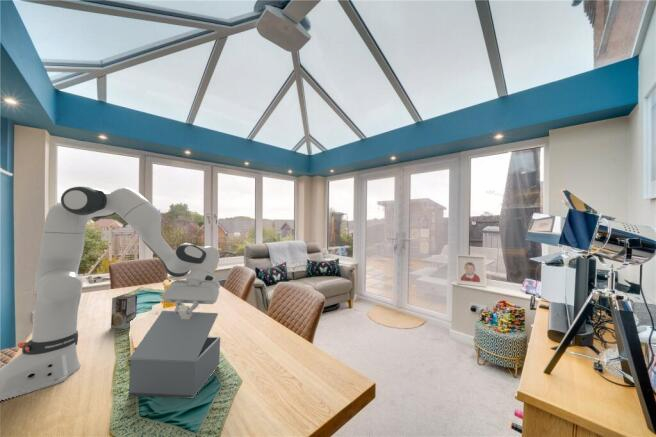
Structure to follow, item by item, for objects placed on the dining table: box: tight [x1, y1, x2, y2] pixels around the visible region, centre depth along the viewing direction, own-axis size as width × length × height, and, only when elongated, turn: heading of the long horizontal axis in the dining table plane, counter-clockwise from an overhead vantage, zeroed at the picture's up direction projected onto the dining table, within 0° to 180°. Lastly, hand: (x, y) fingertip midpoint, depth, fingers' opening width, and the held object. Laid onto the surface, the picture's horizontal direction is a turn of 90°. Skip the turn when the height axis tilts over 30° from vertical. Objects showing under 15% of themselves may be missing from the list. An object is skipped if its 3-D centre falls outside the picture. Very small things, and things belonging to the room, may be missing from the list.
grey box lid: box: [129, 305, 219, 362], centre depth 86 cm, size 18×22×6 cm
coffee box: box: [110, 294, 138, 330], centre depth 130 cm, size 9×6×16 cm
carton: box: [128, 336, 221, 399], centre depth 89 cm, size 18×22×12 cm
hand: (182, 313), depth 90 cm, fingers closed on grey box lid, 3 cm apart
